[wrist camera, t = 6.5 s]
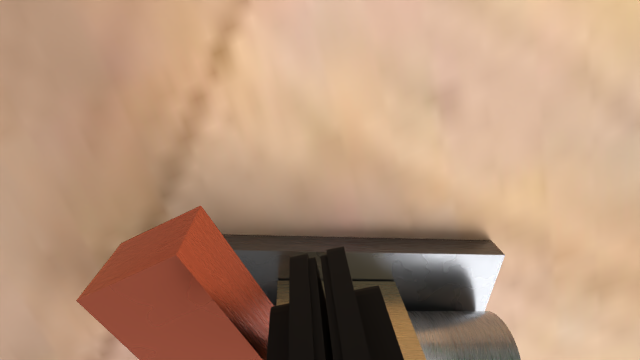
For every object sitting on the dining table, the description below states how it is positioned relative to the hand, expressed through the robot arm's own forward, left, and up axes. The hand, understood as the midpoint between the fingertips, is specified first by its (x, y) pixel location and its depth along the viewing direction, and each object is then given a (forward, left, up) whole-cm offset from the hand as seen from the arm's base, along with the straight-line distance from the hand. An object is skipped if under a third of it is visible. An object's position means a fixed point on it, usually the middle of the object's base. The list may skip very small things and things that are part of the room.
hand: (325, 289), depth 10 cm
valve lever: (+1, +5, 0) cm, 5 cm away
